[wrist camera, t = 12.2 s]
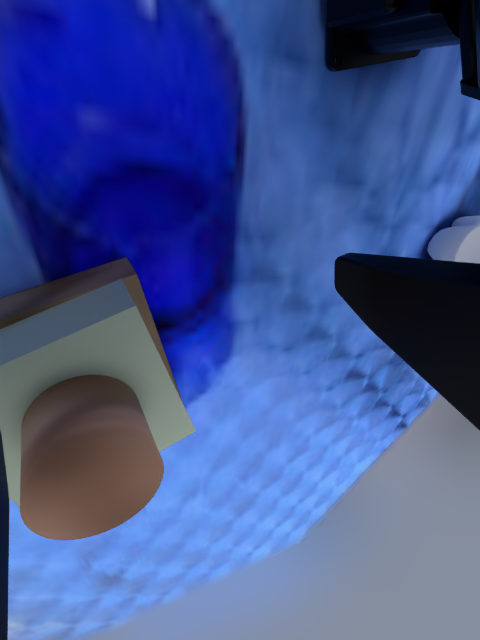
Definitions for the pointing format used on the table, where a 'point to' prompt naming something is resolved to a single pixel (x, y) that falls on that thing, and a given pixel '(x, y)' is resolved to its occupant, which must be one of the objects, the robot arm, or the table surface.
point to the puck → (86, 458)
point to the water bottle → (457, 241)
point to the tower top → (84, 365)
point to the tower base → (75, 285)
